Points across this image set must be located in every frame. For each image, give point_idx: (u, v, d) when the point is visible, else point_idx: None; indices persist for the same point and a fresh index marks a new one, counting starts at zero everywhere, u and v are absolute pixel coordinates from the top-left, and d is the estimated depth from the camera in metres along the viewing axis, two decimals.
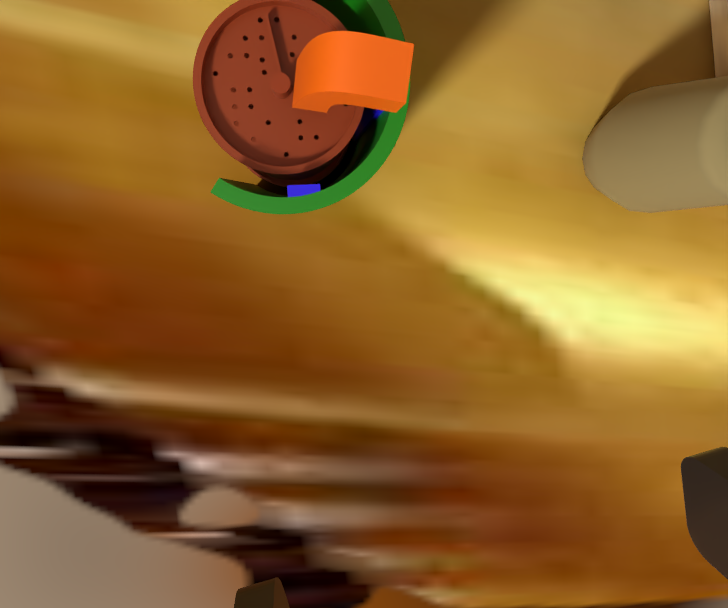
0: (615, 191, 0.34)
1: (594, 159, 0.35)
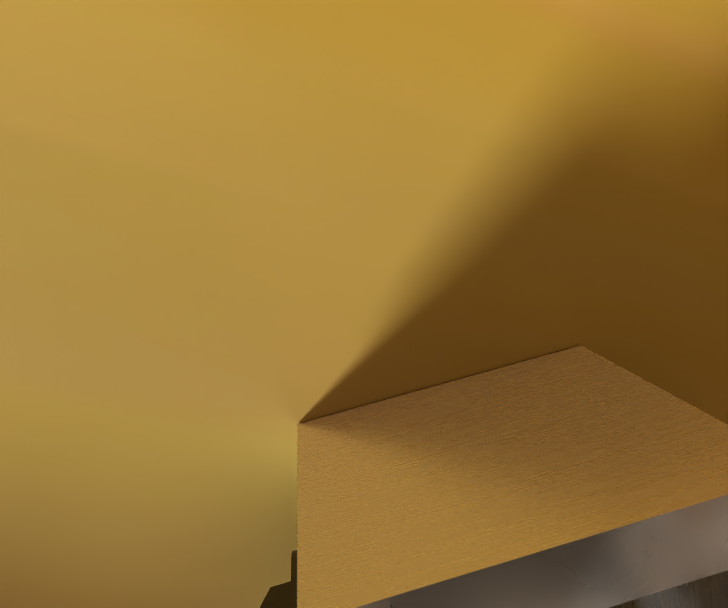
0: None
1: None
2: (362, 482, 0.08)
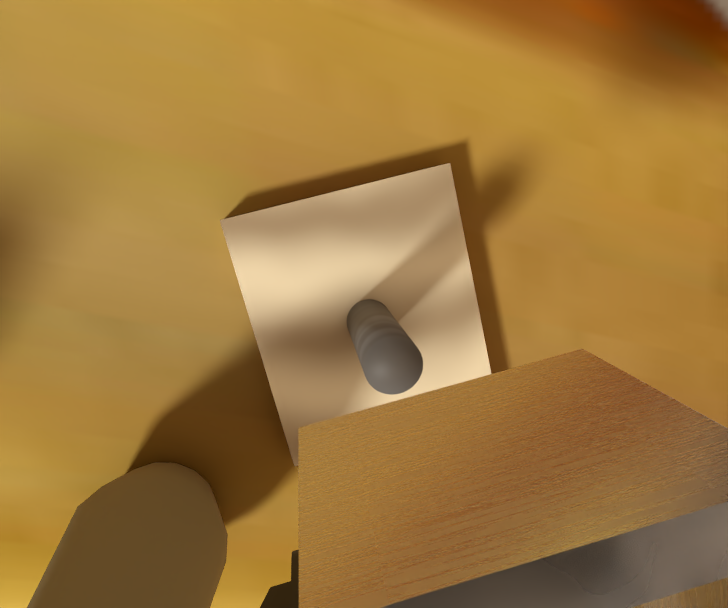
0: None
1: None
2: (363, 487, 0.08)
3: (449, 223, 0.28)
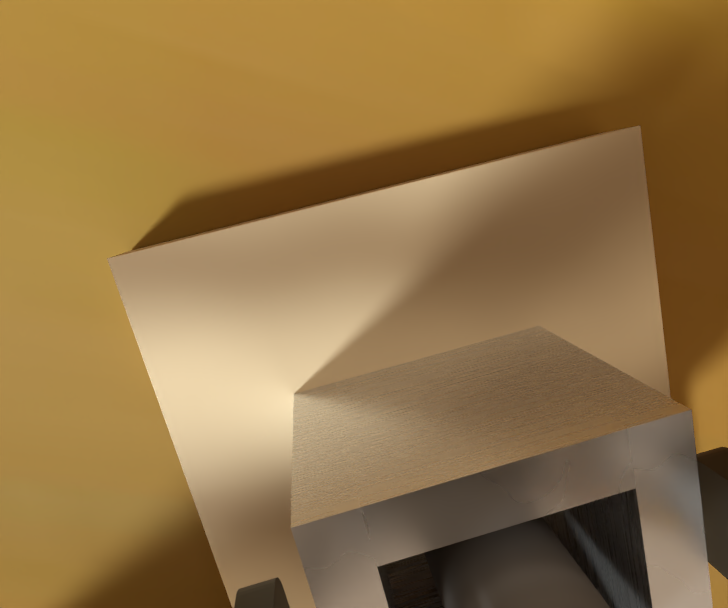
0: None
1: None
2: (346, 433, 0.10)
3: (629, 261, 0.12)
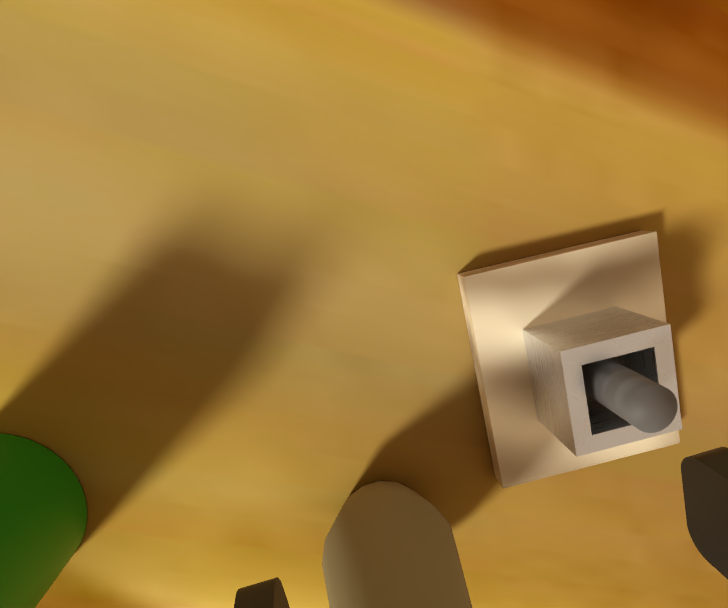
0: None
1: None
2: (558, 336, 0.29)
3: (651, 282, 0.32)
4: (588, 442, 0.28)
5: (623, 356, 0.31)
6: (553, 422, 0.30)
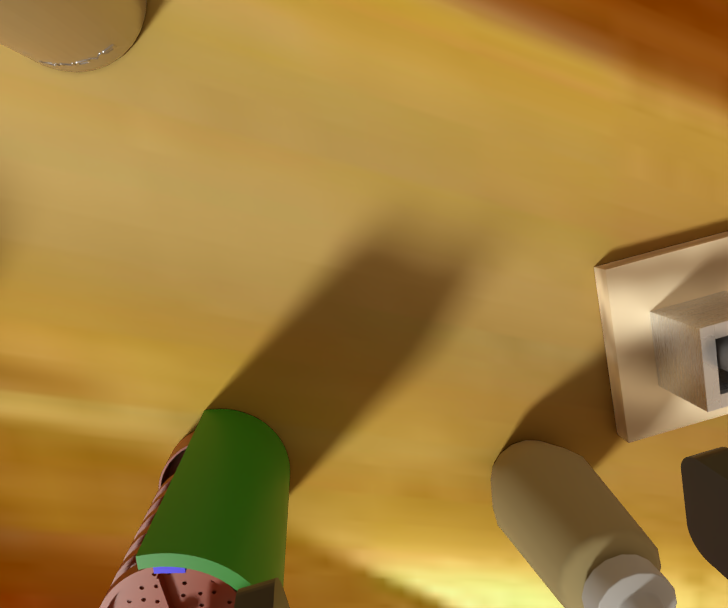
0: None
1: (493, 508, 0.38)
2: (688, 316, 0.36)
3: None
4: (717, 400, 0.35)
5: None
6: (680, 386, 0.38)
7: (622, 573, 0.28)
